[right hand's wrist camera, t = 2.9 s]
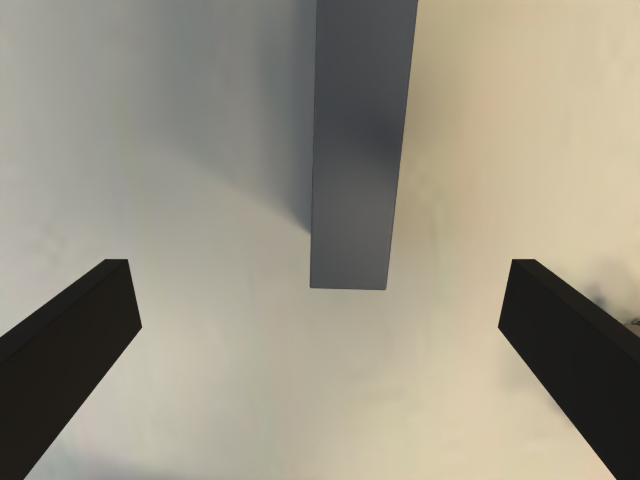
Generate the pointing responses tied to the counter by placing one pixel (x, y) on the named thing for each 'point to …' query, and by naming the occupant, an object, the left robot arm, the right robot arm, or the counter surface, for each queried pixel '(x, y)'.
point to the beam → (358, 137)
